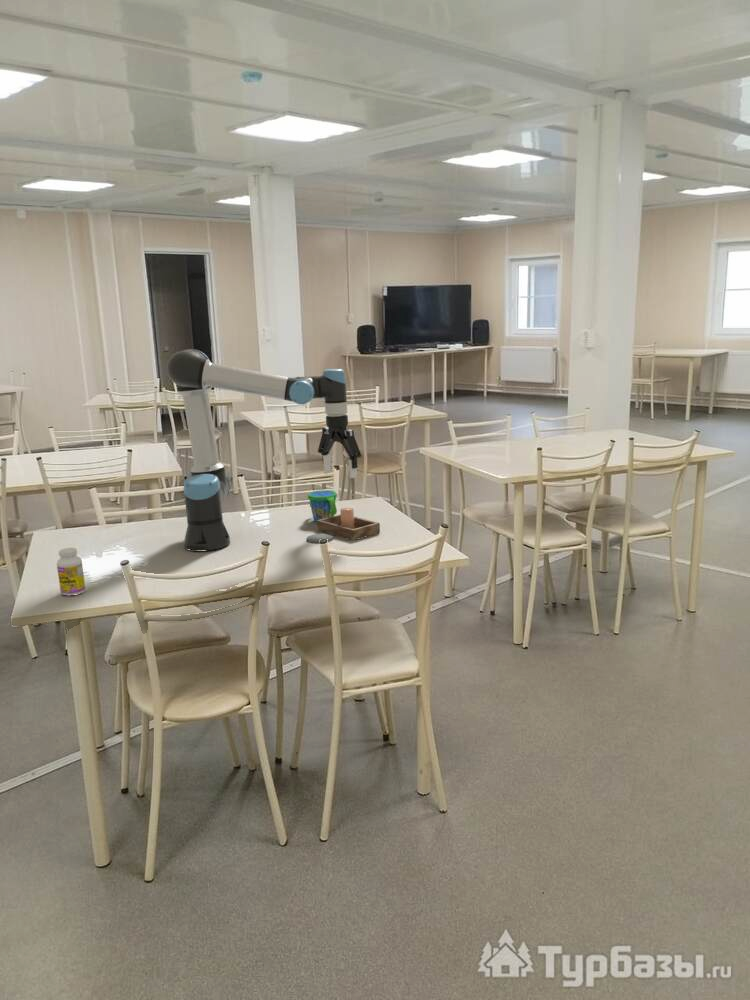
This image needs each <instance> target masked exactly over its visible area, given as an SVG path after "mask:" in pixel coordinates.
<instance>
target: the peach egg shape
mask: <svg viewBox="0 0 750 1000" xmlns="http://www.w3.org/2000/svg"><path fill="white" fill-rule="evenodd" d="M340 514H341V525H340V526H343V527H347V528H350V529H356V527H355V526H354V517H355V511H354V508H353V507H344V508H340Z"/></svg>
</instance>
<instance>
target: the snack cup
mask: <svg viewBox="0 0 750 1000" xmlns="http://www.w3.org/2000/svg"><path fill="white" fill-rule="evenodd" d="M337 497H338V493H337V492H336V491H334V490H324V489H323V490H315V491H312V492H309V493H308V494H307V498H308V500H309V507H310V509H311V514H312V518H313V520H314V521H315V522H317V520H320V519H324V518H328V517H332V516H336V515H337V512H338V510H337V506H336V499H337Z"/></svg>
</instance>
